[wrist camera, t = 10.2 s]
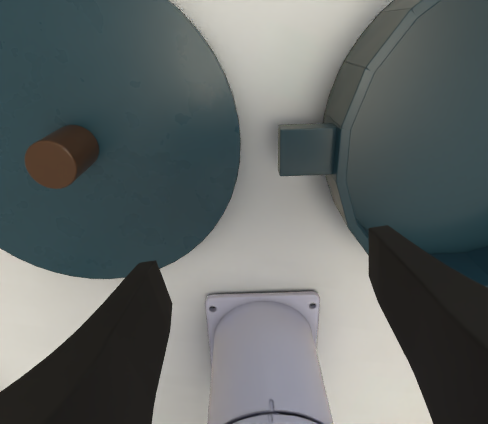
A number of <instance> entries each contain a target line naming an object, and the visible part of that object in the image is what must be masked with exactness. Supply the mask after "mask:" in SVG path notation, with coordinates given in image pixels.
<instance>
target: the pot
mask: <svg viewBox="0 0 488 424" xmlns="http://www.w3.org/2000/svg"><path fill="white" fill-rule="evenodd" d="M278 171H279V175H280V176H301V175H325V176H326V179H327V182H328V186H329V189H330V191H331V195H332V198H333V201H334V203H335V205H336V206H337V208H338V210H339V212H340V214H341V216H342V217H343V219H344V221H345V223H346V225H347V226H348V228H349V230H350V231H351V232H352V234H353V235H354V236H355V238H356V239H357V240H358V242H359V243H360V244H361V246H362V247H363V248H364V250H365V251H366V253H367V254H368V255H369V228H372V227H378V226H385V225H388V226H390V227H391V228H393V229H394V230H395V231H397V232H398V233H400V234H401V235H402V236H404V237H405V238H407V239H408V240H410V241H411V242H412V243H414V244H415V245H417V246H418V247H420V248H421V249H423V250H424V251H425V252H427V253H429V254H430V255H432V256H433V257H435V258H436V259H438V260H439V261H441V262H443V263H444V264H446V265H447V266H449V267H451V268H453V269H454V270H456V271H458V272H459V273H461V274H463V275H465V276H466V277H468V278H470V279H472V280H474V281H476V282H478V283H480V284H482V285H484V286H486V287H488V0H394V1H393V2H392V3H391V4H390V5H388V6H387V7H386V8H385V9H384V10H383V11H382V12H381V13H380V14H379V15H378V16H377V17H376V18H375V19H374V21H373V22H372V23H371V24H370V25H369V26H368V28H367V29H366V30H365V31H364V32H363V33H362V35H361V36H360V38H359V39H358V41H357V42H356V43H355V45H354V46H353V48H352V49H351V51H350V52H349V54H348V56H347V58H346V59H345V61H344V63H343V65H342V67H341V69H340V71H339V73H338V75H337V77H336V80H335V82H334V85H333V87H332V90H331V92H330V95H329V99H328V103H327V106H326V110H325V114H324V121H323V123H321V124H291V125H279V126H278Z"/></svg>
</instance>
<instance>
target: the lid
mask: <svg viewBox="0 0 488 424" xmlns="http://www.w3.org/2000/svg"><path fill="white" fill-rule="evenodd" d="M239 163H240V130H239V120H238V115H237V110H236V106H235V102H234V98H233V94H232V92H231V89H230V86H229V84H228V81H227V78H226V76H225V73H224V71H223V70H222V68H221V66H220V64H219V62H218V60H217V58H216V56H215V54H214V52H213V51H212V49H211V48H210V47H209V45H208V44H207V42H206V41H205V39H204V38H203V36H202V35H201V34H200V32H199V31H198V30H197V29H196V27H195V26H194V25H193V24H192V23H191V22H190V21H189V19H188V18H187V17H186V16H185V15H184V14H183V13H182V12H181V11H180V10H179V9H178V8H177V7H176V6H175V5H173V4H172V3H171V2H170V1H169V0H0V248H1V249H2V250H4V251H6V252H8V253H10V254H11V255H13V256H15V257H17V258H19V259H21V260H23V261H26V262H28V263H30V264H32V265H35V266H37V267H40V268H43V269H46V270H49V271H52V272H56V273H60V274H65V275H69V276H74V277H82V278H90V279H114V278H126V277H127V275H128V274H129V273H130V272H131V271H132V270H133V269H134V268H135V266H136V265H137V264H138V263H141V262H148V261H154V260H156V262H157V264H158V267H159V269H160V268H162V267H164V266H166V265H168V264H171V263H173V262H175V261H176V260H178V259H179V258H181V257H183V256H184V255H186V254H187V253H189V252H190V251H191V250H192V249H194V248H195V247H196V246H197V245H198V244H200V243H201V242H202V241H203V240H204V239H205V238H206V236H207V235H208V234H209V233H210V232H211V231H212V230H213V229H214V227H215V226H216V224H217V223H218V221H219V220H220V218H221V217H222V215H223V213H224V211H225V209H226V207H227V205H228V203H229V201H230V199H231V196H232V193H233V190H234V187H235V184H236V180H237V175H238V169H239Z"/></svg>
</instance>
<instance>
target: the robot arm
mask: <svg viewBox="0 0 488 424" xmlns="http://www.w3.org/2000/svg"><path fill="white" fill-rule="evenodd" d="M369 278H370V281H371V284H372V286H373V289H374V292H375V295H376V297H377V300H378V303H379V305H380V307H381V309H382V311H383V313H384V315H385V317H386V319H387V321H388V323H389V325H390V327H391V328H392V330H393V332H394V334H395V336H396V338H397V340H398V342H399V344H400V346H401V348H402V350H403V352H404V354H405V356H406V358H407V360H408V362H409V364H410V366H411V368H412V370H413V372H414V375H415V377H416V380H417V382H418V385H419V387H420V390H421V392H422V395H423V397H424V400H425V402H426V405H427V408H428V410H429V413H430V416H431V418H432V421H433V424H488V287H486V286H484V285H482V284H480V283H478V282H476V281H474V280H472V279H470V278H468V277H466V276H465V275H463V274H461V273H459V272H458V271H456V270H454V269H453V268H451V267H449V266H447V265H446V264H444V263H443V262H441V261H439V260H438V259H436V258H435V257H433V256H432V255H430V254H429V253H427V252H425V251H424V250H423V249H421V248H420V247H418V246H417V245H415V244H414V243H412V242H411V241H410V240H408V239H407V238H405V237H404V236H402V235H401V234H400V233H398V232H397V231H395V230H394V229H393V228H391V227H390V226H388V225H385V226H378V227H372V228H369ZM311 303H315V304H314V305H309V304H311ZM205 306H206V316H207V326H208V336H209V347H210V357H211V367H212V373H211V385H210V398H209V410H208V423H207V424H334V423H333V419H332V415H331V411H330V406H329V402H328V398H327V394H326V390H325V386H324V381H323V377H322V373H321V369H320V365H319V360H318V356H317V352H316V345H317V332H318V319H319V306H320V297H319V294H318V293H317V292H313V291H309V292H278V293H247V294H216V295H209V296H207V298H206V301H205ZM211 306H215V307H216V308H211ZM171 314H172V302H171V299H170V296H169V294H168V291H167V288H166V286H165V283H164V280H163V278H162V275H161V272H160V270H159V267H158V264H157V262H156V260H154V261H148V262H141V263H138V264H137V265H136V266H135V268H134V269H133V270H132V271H131V272H130V273H129V274H128V275H127V277H126V278H125V279H124V280H123V281H122V282H121V284H120V285H119V286H118V287H117V288H116V289H115V290H114V292H113V293H112V294H111V295H110V296H109V297H108V298H107V299H106V301H105V302H104V303H103V304H102V305H101V306H100V307H99V308H98V309H97V310H96V311H95V312H94V313H93V314H92V315H91V317H90V318H89V319H88V320H87V321H86V322H85V323H84V324H83V325H82V326H81V327H80V328H79V329H78V330H77V331H76V332H75V333H74V334H73V335H71V336H70V337H69V338H68V339H67V340H66V341H65V342H64V343H63V344H62V345H60V346H59V347H58V348H57V349H56V350H55V351H54V352H52V353H51V354H50V355H49V356H48V357H46V358H45V359H44V360H43V361H41V362H40V363H39V364H37V365H36V366H35V367H34V368H32V369H31V370H30V371H28V372H27V373H26V374H25V375H23V376H22V377H21V378H19V379H18V380H17V381H15V382H14V383H12V384H11V385H10V386H8V387H7V388H5V389H4V390H3V391H1V392H0V424H152V416H153V408H154V402H155V397H156V391H157V387H158V383H159V378H160V374H161V369H162V365H163V360H164V356H165V352H166V347H167V342H168V338H169V333H170V326H171Z"/></svg>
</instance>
